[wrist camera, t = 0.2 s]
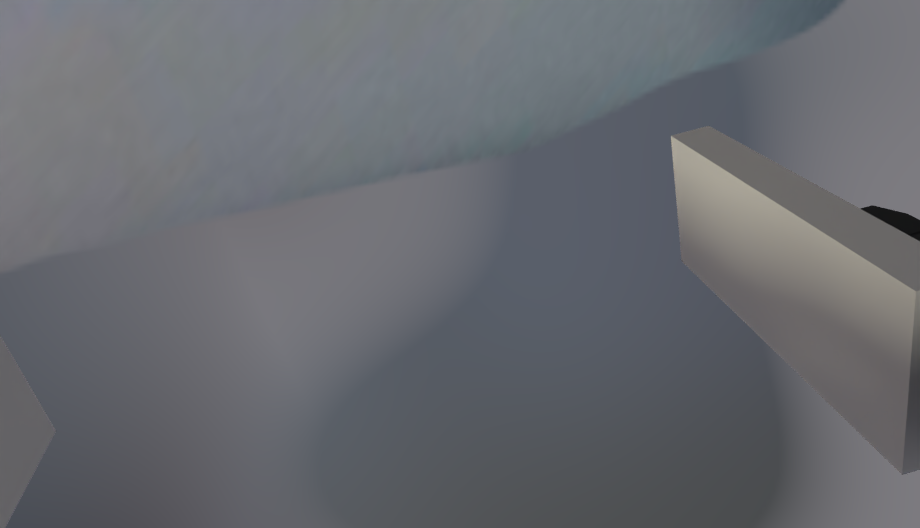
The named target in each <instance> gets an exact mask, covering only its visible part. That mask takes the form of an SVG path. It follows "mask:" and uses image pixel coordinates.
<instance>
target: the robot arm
mask: <svg viewBox="0 0 920 528" xmlns="http://www.w3.org/2000/svg"><path fill="white" fill-rule="evenodd" d="M671 143H672V154H673V166H674V177H675V189H676V199H677V200H676V201H677V212H678V224H679V235H680V246H681V258H682V262H683V263H684V264H685V265H686V266H687V267H688V268H689V269H690V270H691V271H692V272H693V273H694V274H695V275H697V276H698V277H699V278H700V279H701V280H702V281H703V282H704V283H705V284H706V285H707V286H708V287H709V288H710V289H711V290H712V291H713V292H714V293H715V294H716V295H717V296H718V297H719V298H720V299H721V300H722V301H723V302H724V303H725V304H726V305H728V306H729V307H730V308H731V309H732V310H733V311H734V312H735V313H736V314H737V315H738V316H739V317H740V318H741V319H742V320H743V321H744V322H745V323H746V324H747V325H748V326H749V327H750V328H751V329H752V330H753V331H754V332H755V333H756V334H757V335H759V337H761V338H762V339H763V340H764V341H765V342H766V343H767V344H768V345H769V346H770V347H771V348H772V349H773V350H774V351H775V352H776V353H777V354H778V355H779V356H780V357H781V358H782V359H783V360H784V361H785V362H786V363H787V364H788V365H789V366H790V367H792V368H793V369H794V370H795V371H796V372H797V373H798V374H799V375H800V376H801V377H802V378H803V379H804V380H805V381H806V382H807V383H808V384H809V385H810V386H811V387H812V388H813V389H814V390H815V391H816V392H817V393H818V394H819V395H821V396H822V398H824V399H825V400H826V401H827V402H828V403H829V404H830V405H831V406H832V407H833V408H834V409H835V410H836V411H837V412H838V413H839V414H840V415H841V416H842V417H843V418H844V419H845V420H846V421H847V422H848V423H849V424H850V425H852V427H854V428H855V429H856V430H857V431H858V432H859V433H860V434H861V435H862V436H863V437H864V438H865V439H866V440H867V441H868V442H869V443H870V444H871V445H872V446H873V447H874V448H875V449H876V450H877V451H878V452H879V453H880V454H881V455H882V456H883V457H884V458H885V459H887V460H888V461H889V462H890V463H891V464H892V465H893V466H894V467H895V468H896V469H897V470H898V471H899V472H900V473H901V474H902V475H903V474H906V473H910V472H913V471H917V470H920V220H918V219H916V218H915V217H913V216H911V215H909V214H906V213H902V212H898V211H893V210H889V209H885V208H880V207H877V206H869V207H865V208H861V209H860V208H858V207H856V206H854V205H852V204H850V203H849V202H847V201H845V200H843V199H841V198H839V197H838V196H836V195H834V194H832V193H830V192H828V191H827V190H825V189H823V188H821V187H819V186H818V185H816V184H814V183H812V182H810V181H808V180H807V179H805V178H803V177H801V176H799V175H797V174H796V173H794V172H792V171H790V170H788V169H786V168H784V167H783V166H781V165H779V164H777V163H775V162H774V161H772V160H770V159H768V158H766V157H764V156H763V155H761V154H759V153H757V152H755V151H754V150H752V149H750V148H748V147H746V146H744V145H743V144H741V143H739V142H737V141H735V140H733V139H732V138H730V137H728V136H726V135H724V134H722V133H721V132H719V131H717V130H715V129H713V128H711V127H709V126H707V127H703V128H699V129H695V130H691V131H688V132H684V133H680V134H676V135H672V136H671ZM55 432H56V431H55V429H54V427H53V425H52V423H51V422H50V420H49V418H48V417H47V415H46V413H45V411H44V410H43V408H42V406H41V405H40V403H39V401H38V400H37V398H36V396H35V394H34V393H33V391H32V389H31V387H30V386H29V384H28V382H27V380H26V379H25V377H24V375H23V374H22V372H21V370H20V369H19V367H18V365H17V363H16V362H15V360H14V358H13V356H12V355H11V353H10V351H9V350H8V348H7V346H6V344H5V343H4V342H3V339H2V338H1V336H0V528H5V527H6V525H7V523H8V521H9V519H10V517H11V515H12V514H13V512H14V510H15V508H16V506H17V504H18V502H19V500H20V498H21V496H22V495H23V493H24V491H25V489H26V487H27V485H28V483H29V481H30V479H31V477H32V476H33V473H34V471H35V470H36V468H37V466H38V464H39V462H40V460H41V458H42V456H43V455H44V452H45V451H46V449H47V447H48V445H49V443H50V441H51V439H52V437H53V435H54V434H55Z"/></svg>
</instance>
